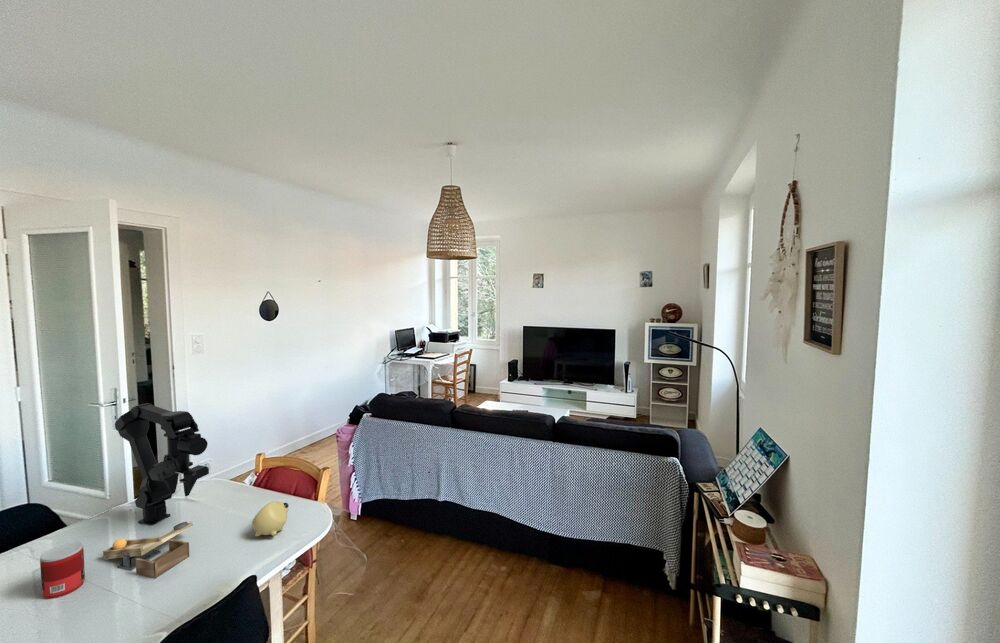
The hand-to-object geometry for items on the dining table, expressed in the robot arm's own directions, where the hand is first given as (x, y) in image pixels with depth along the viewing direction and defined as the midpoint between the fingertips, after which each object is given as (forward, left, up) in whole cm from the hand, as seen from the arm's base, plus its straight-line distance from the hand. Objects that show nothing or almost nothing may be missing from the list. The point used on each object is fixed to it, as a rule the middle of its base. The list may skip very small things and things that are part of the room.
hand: (180, 494), depth 138 cm
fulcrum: (+4, -16, -12) cm, 20 cm away
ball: (-4, -16, -8) cm, 18 cm away
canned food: (-3, -30, -12) cm, 33 cm away
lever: (+2, -11, -10) cm, 15 cm away
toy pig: (+31, +6, -12) cm, 34 cm away
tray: (+13, -16, -12) cm, 24 cm away
